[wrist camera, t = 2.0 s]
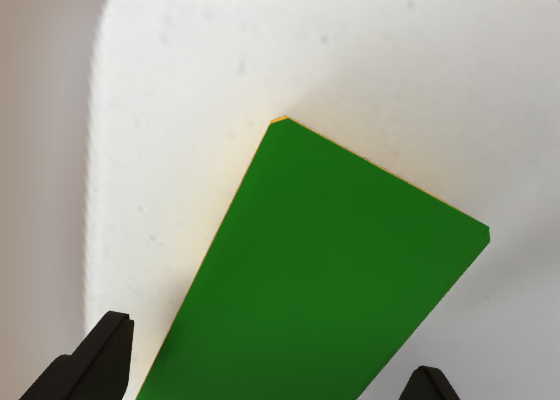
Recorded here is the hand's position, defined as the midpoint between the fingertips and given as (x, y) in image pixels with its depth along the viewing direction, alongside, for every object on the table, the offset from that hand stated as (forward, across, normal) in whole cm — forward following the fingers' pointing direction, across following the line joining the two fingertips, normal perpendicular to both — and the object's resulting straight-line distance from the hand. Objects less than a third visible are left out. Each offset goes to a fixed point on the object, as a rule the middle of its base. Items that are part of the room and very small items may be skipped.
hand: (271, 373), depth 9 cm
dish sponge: (+3, 0, 0) cm, 3 cm away
